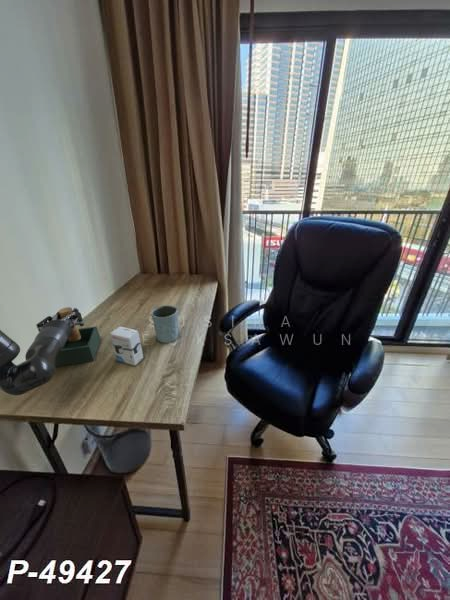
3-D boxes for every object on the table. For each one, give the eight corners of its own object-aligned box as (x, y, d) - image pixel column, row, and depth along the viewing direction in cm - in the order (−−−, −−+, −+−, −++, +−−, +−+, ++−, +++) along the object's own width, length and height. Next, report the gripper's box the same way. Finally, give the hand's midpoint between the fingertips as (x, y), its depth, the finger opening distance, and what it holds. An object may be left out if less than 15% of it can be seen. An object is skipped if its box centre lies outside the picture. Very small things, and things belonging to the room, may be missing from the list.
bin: (54, 367, 87) (48, 352, 84) (66, 344, 99) (61, 331, 96) (93, 360, 90) (89, 346, 87) (100, 339, 102) (96, 326, 99)
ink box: (115, 360, 90) (108, 333, 85) (125, 352, 94) (119, 325, 89) (135, 366, 87) (128, 338, 82) (144, 357, 91) (138, 330, 86)
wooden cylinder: (67, 342, 90) (56, 313, 84) (70, 336, 93) (60, 308, 88) (79, 340, 90) (69, 311, 85) (82, 334, 94) (73, 306, 89)
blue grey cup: (157, 346, 97) (152, 319, 92) (153, 332, 106) (149, 307, 100) (182, 340, 101) (179, 314, 95) (177, 327, 109) (174, 303, 104)
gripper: (75, 323, 75) (88, 299, 90) (20, 330, 72) (43, 304, 87) (81, 344, 78) (93, 317, 93) (30, 351, 75) (50, 323, 90)
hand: (69, 311), depth 90 cm, fingers closed on wooden cylinder, 4 cm apart
